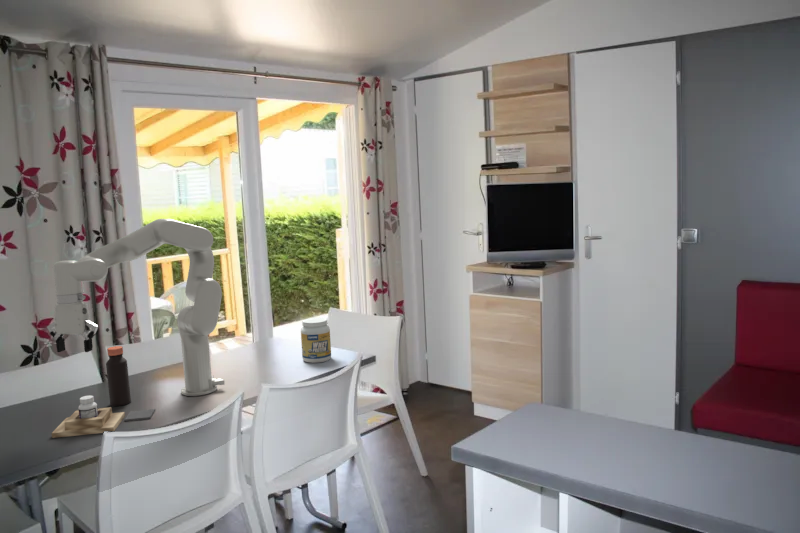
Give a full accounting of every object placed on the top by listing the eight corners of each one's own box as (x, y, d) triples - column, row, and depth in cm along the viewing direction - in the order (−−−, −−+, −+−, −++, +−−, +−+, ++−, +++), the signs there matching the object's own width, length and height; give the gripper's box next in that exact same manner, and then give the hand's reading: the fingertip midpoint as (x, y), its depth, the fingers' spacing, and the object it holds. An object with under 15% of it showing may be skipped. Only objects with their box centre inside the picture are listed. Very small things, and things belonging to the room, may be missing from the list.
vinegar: (118, 407, 229) (112, 351, 226) (106, 404, 232) (100, 349, 230) (135, 401, 234) (129, 346, 232) (123, 399, 238) (117, 344, 235)
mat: (155, 410, 224) (155, 408, 223) (150, 418, 216) (150, 417, 216) (130, 413, 222) (130, 411, 222) (124, 421, 214) (124, 419, 214)
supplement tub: (309, 365, 271) (306, 324, 269) (298, 359, 281) (295, 320, 279) (336, 360, 277) (333, 320, 275) (324, 354, 287) (322, 315, 285)
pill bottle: (84, 424, 213) (81, 395, 212) (101, 423, 214) (98, 394, 213) (77, 430, 208) (74, 400, 207) (95, 429, 209) (92, 399, 207)
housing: (125, 416, 219) (123, 404, 219) (113, 431, 206) (112, 419, 205) (67, 421, 216) (65, 410, 216) (52, 437, 203) (50, 425, 202)
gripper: (101, 296, 215) (106, 348, 217) (53, 297, 217) (58, 348, 220) (87, 300, 207) (92, 354, 209) (37, 301, 210) (42, 354, 212)
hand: (75, 351), depth 215 cm, fingers open, 9 cm apart
